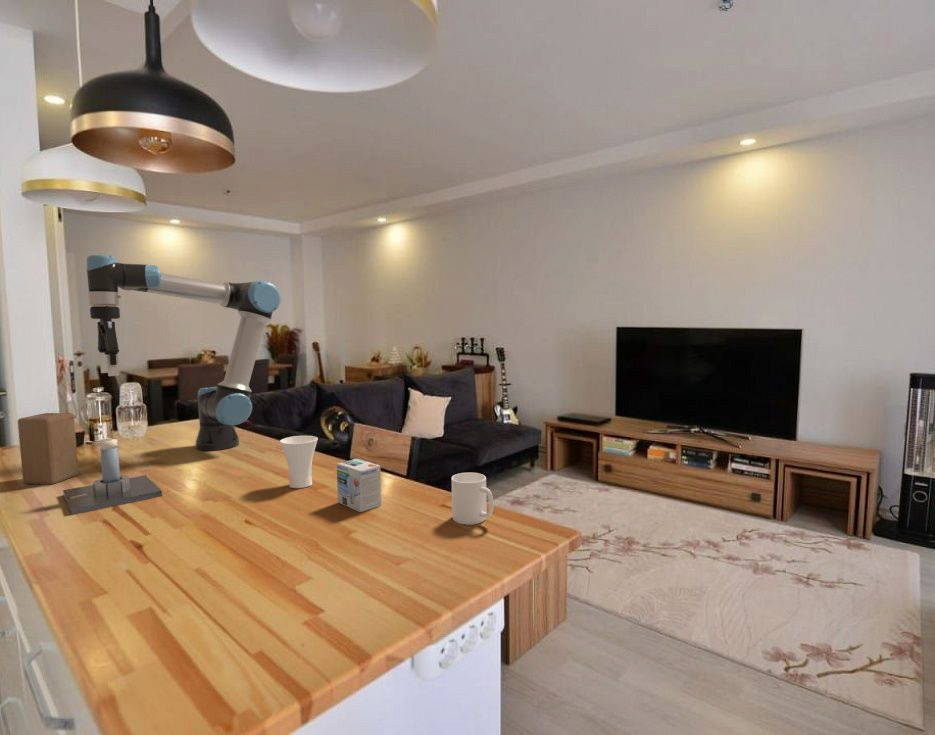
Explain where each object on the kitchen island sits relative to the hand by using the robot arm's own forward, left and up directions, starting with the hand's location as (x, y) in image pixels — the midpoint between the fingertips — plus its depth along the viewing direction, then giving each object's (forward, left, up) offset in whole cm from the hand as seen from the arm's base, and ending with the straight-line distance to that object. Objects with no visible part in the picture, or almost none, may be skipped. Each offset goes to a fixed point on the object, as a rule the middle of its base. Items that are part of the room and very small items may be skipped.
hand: (109, 374), depth 164 cm
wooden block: (+16, -6, -32) cm, 36 cm away
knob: (+5, +25, -30) cm, 40 cm away
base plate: (+5, +25, -32) cm, 41 cm away
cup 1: (-37, +53, -32) cm, 72 cm away
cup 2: (-55, +108, -32) cm, 125 cm away
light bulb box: (-41, +79, -32) cm, 95 cm away
